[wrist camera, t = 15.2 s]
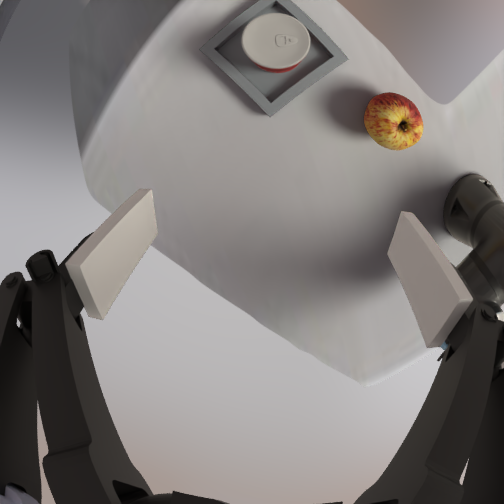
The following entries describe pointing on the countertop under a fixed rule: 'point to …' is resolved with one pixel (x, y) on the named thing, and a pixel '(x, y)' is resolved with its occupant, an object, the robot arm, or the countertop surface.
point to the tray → (266, 83)
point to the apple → (393, 121)
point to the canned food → (276, 42)
